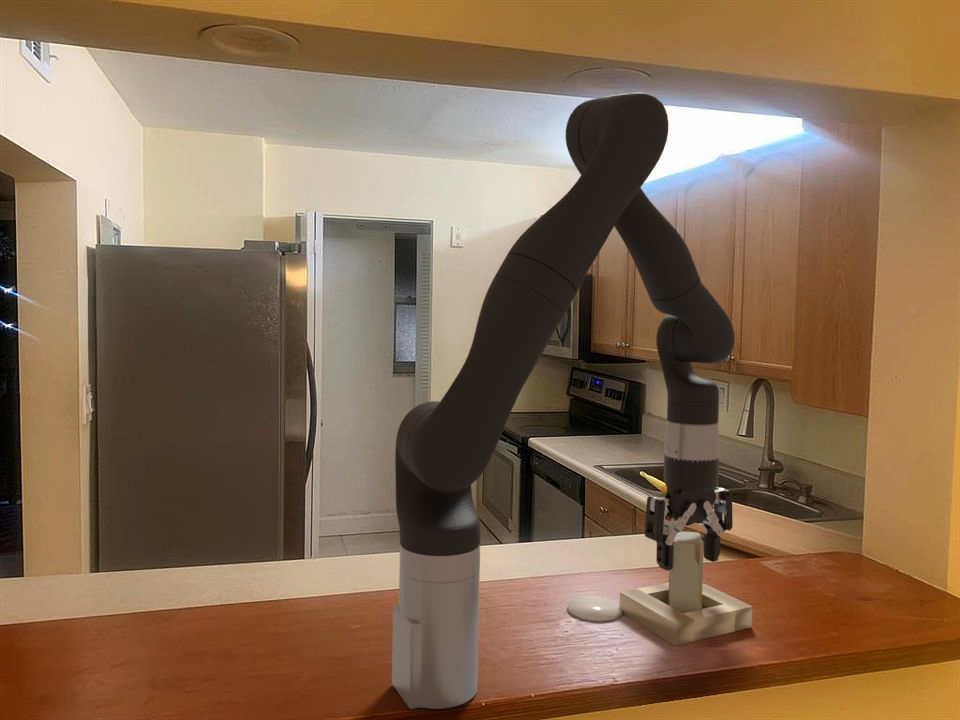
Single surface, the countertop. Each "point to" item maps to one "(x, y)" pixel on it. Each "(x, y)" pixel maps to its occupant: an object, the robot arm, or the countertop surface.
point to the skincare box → (686, 572)
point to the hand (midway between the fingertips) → (688, 564)
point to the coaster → (594, 608)
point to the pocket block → (685, 614)
